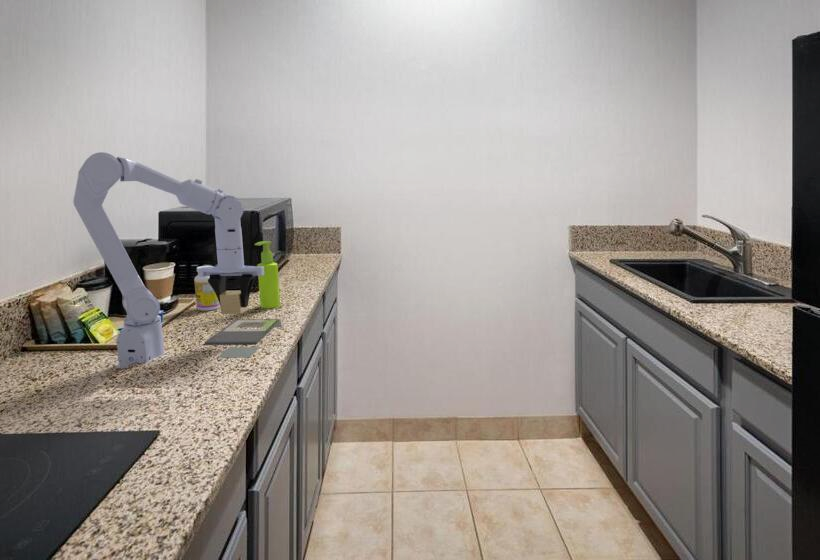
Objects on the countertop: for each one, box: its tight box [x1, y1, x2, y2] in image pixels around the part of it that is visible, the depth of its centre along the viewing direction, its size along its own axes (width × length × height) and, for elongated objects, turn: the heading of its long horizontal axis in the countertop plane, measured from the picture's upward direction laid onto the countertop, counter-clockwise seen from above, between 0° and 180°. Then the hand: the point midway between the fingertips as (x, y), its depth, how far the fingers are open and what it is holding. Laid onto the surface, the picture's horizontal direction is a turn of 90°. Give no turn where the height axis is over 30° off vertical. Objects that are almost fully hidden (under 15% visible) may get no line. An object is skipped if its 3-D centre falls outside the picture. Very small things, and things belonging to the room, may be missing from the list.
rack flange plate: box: [204, 318, 282, 345], centre depth 135 cm, size 20×12×2 cm, turn 178°
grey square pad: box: [216, 346, 261, 359], centre depth 119 cm, size 7×7×2 cm
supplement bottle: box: [193, 265, 221, 312], centre depth 165 cm, size 7×7×13 cm
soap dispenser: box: [254, 240, 281, 309], centre depth 166 cm, size 6×7×20 cm
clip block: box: [220, 289, 248, 315], centre depth 127 cm, size 4×4×4 cm
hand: (234, 306), depth 127 cm, fingers closed on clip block, 4 cm apart
